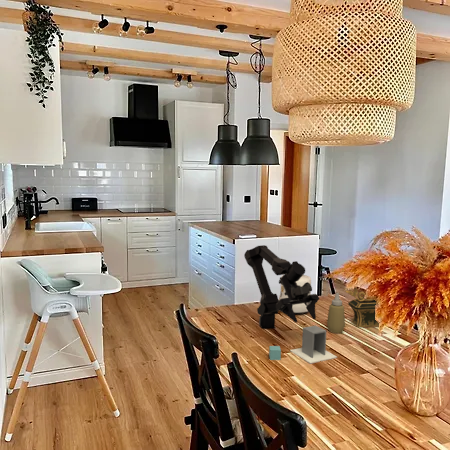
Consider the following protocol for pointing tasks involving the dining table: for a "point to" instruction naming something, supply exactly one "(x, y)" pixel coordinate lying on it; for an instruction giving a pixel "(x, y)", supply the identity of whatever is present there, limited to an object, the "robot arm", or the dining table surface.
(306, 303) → the robot arm
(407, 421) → the dining table surface
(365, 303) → the decorative box
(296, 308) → the cream spotted cookie jar
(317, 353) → the cream square tile
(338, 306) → the squeeze bottle
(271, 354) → the teal cube
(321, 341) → the charcoal hood
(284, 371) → the dining table surface
